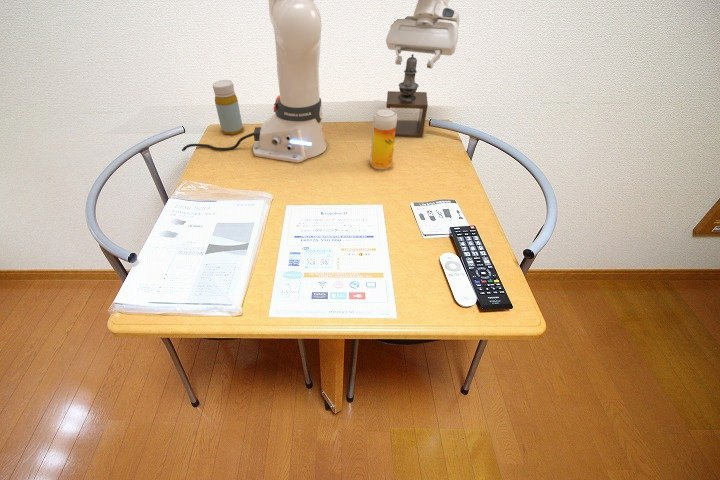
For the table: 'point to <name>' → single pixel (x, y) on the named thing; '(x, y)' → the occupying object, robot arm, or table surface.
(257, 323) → the table surface
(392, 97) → the shelf
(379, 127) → the beer can
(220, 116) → the bottle
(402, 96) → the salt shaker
